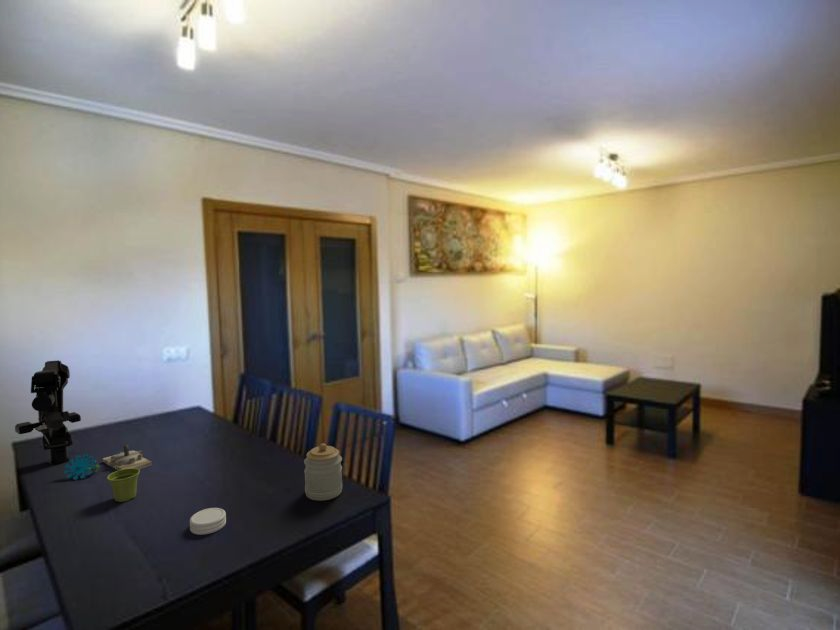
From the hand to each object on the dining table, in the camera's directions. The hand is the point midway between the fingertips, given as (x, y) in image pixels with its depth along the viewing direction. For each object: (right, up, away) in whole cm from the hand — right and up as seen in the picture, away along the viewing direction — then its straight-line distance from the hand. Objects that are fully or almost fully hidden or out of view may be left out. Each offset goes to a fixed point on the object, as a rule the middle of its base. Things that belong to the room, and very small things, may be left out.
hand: (50, 444), depth 173 cm
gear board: (+22, -11, +11) cm, 27 cm away
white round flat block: (+76, -15, -35) cm, 85 cm away
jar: (+107, -13, -14) cm, 109 cm away
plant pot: (+40, -14, -17) cm, 45 cm away
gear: (+12, -12, 0) cm, 17 cm away
